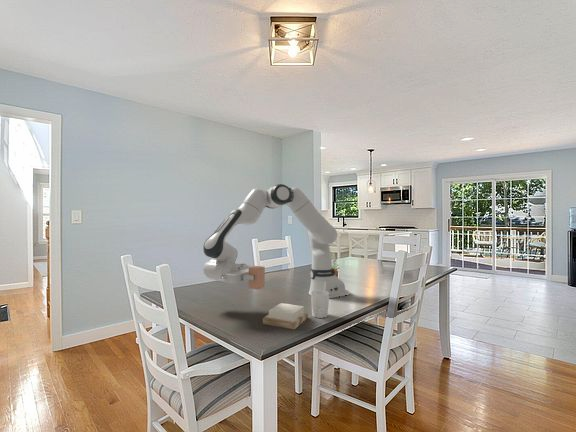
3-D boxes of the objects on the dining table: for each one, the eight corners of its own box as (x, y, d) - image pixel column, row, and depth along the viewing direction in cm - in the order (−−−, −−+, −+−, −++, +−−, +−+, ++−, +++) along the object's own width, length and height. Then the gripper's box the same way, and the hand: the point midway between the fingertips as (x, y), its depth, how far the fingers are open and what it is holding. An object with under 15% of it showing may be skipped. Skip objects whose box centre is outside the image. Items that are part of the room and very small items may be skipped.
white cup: (309, 312, 135) (309, 290, 135) (326, 312, 136) (326, 290, 136) (312, 319, 127) (312, 295, 127) (330, 318, 128) (330, 295, 128)
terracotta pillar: (255, 285, 134) (255, 265, 134) (264, 287, 132) (264, 266, 132) (248, 288, 130) (248, 267, 130) (258, 289, 128) (258, 268, 127)
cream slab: (280, 309, 132) (280, 302, 132) (304, 313, 127) (304, 306, 127) (268, 317, 122) (268, 310, 122) (293, 322, 118) (293, 314, 117)
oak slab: (278, 314, 134) (278, 308, 134) (307, 319, 128) (307, 312, 128) (262, 325, 122) (262, 318, 122) (294, 331, 116) (294, 323, 116)
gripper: (217, 269, 128) (244, 273, 121) (246, 263, 146) (270, 265, 139) (217, 284, 128) (243, 288, 121) (246, 276, 146) (270, 279, 139)
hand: (258, 276), depth 130 cm, fingers closed on terracotta pillar, 5 cm apart
